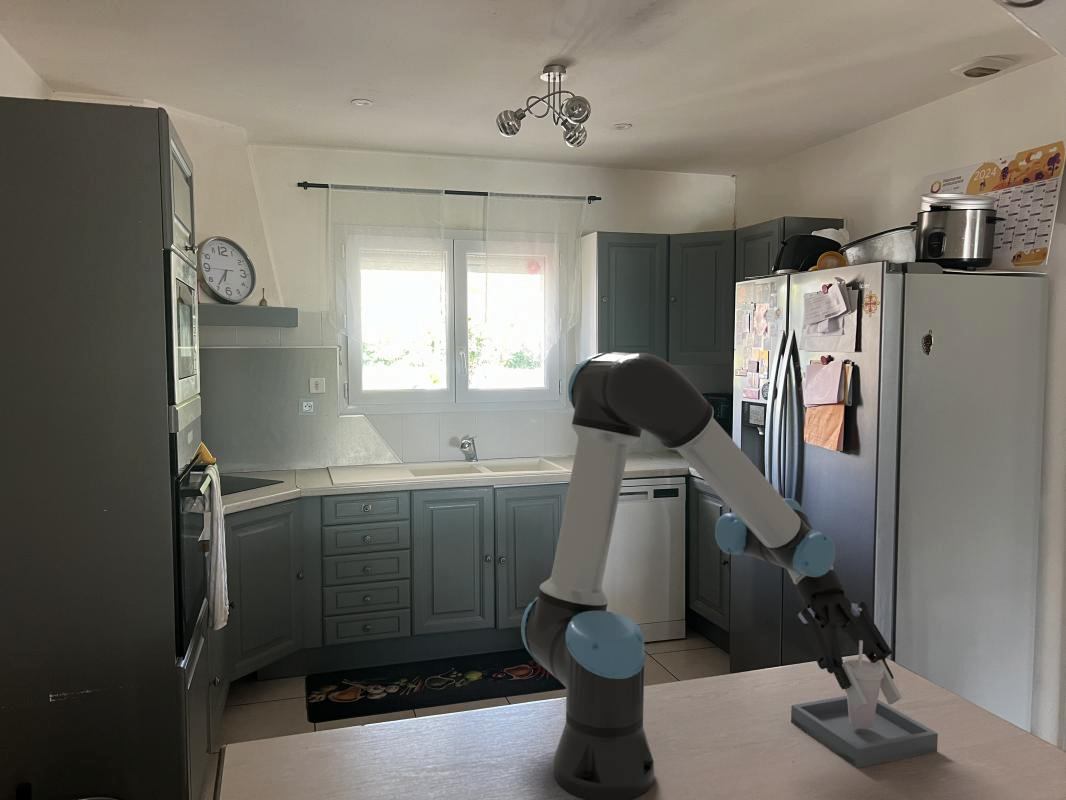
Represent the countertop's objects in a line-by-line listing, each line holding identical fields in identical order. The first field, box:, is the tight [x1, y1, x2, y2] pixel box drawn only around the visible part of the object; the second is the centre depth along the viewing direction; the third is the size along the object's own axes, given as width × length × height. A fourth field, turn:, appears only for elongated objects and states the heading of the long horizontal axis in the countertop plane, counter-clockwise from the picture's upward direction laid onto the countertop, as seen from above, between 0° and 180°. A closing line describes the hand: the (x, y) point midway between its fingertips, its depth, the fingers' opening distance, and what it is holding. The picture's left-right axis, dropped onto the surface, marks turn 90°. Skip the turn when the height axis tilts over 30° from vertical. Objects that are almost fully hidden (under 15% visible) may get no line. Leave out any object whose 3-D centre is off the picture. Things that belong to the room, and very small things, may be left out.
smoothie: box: [842, 640, 884, 729], centre depth 132 cm, size 6×6×14 cm
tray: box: [790, 695, 939, 769], centre depth 132 cm, size 16×16×3 cm
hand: (878, 703), depth 129 cm, fingers closed on smoothie, 6 cm apart
